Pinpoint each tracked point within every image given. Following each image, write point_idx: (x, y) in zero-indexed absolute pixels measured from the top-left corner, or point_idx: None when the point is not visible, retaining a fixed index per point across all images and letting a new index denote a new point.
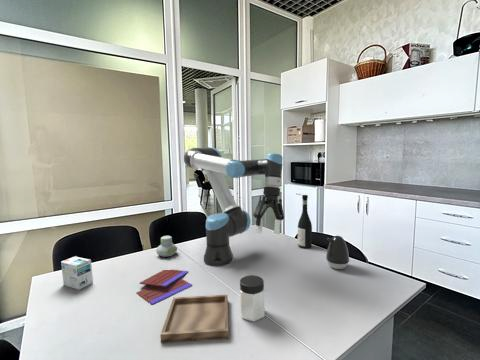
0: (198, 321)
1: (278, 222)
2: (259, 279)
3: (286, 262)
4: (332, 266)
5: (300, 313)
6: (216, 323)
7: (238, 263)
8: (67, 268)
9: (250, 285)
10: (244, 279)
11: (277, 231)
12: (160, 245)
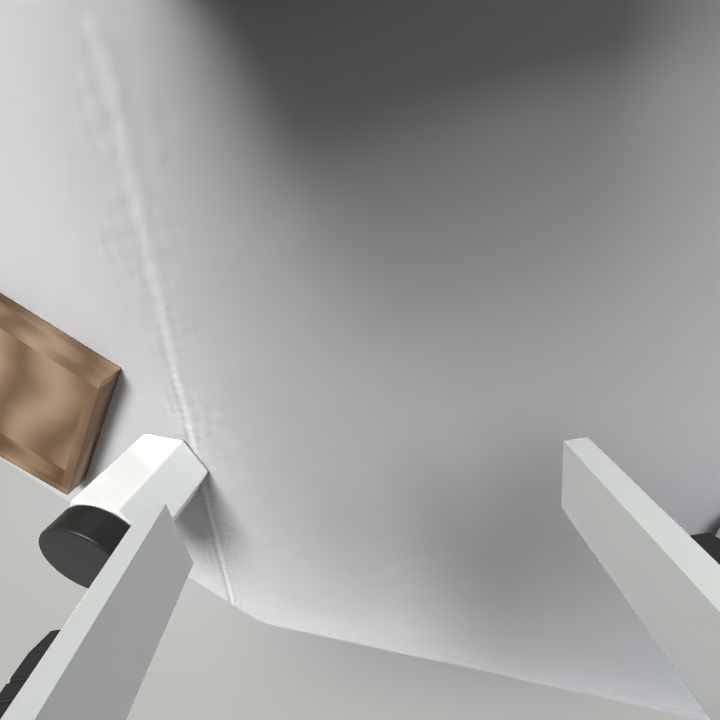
0: (10, 400)
1: (695, 670)
2: None
3: (637, 291)
4: (716, 534)
5: (292, 544)
6: (58, 438)
7: (340, 29)
8: None
9: (67, 574)
10: (57, 543)
11: (580, 513)
12: None
